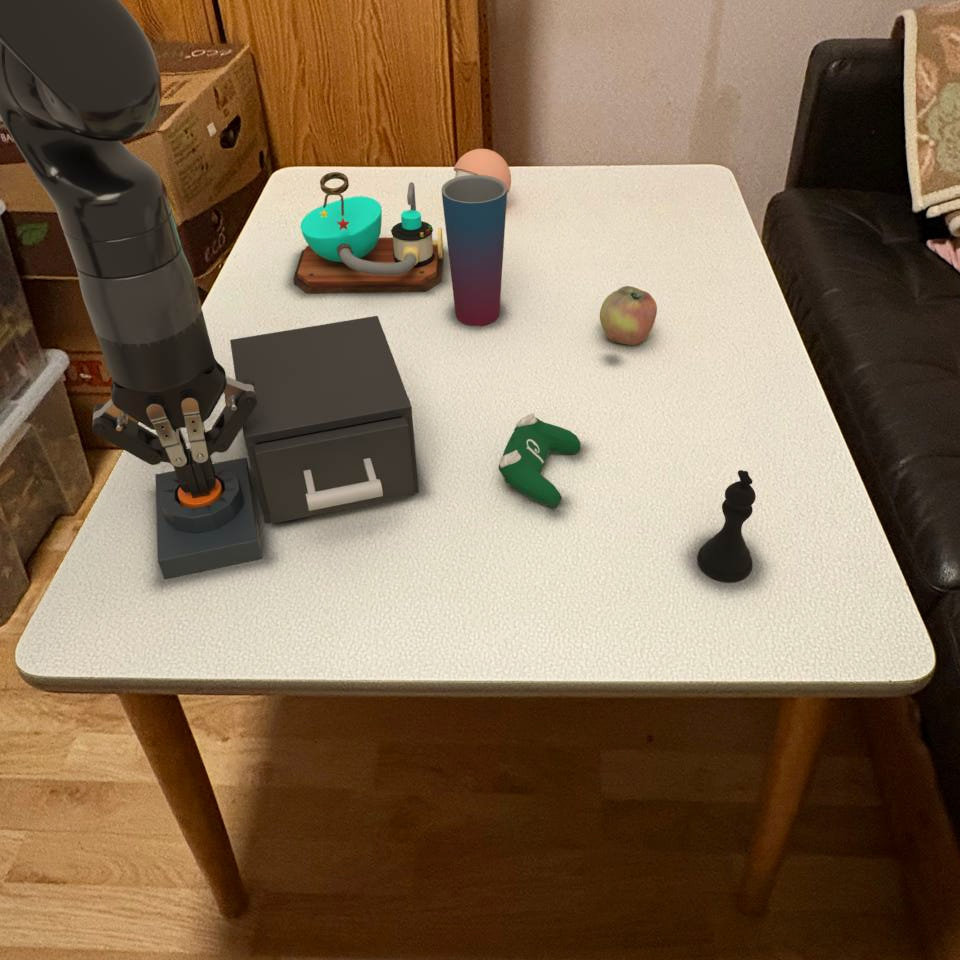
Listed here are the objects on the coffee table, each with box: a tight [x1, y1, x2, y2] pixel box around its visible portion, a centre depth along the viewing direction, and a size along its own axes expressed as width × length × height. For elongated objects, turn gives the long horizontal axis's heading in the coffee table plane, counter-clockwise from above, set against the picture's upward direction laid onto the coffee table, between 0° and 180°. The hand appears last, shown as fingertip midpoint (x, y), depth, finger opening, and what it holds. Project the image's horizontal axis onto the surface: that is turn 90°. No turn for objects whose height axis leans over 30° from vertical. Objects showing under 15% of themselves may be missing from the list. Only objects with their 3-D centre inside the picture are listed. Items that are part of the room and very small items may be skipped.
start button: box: [178, 479, 223, 508], centre depth 77 cm, size 4×4×2 cm
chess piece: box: [696, 469, 757, 583], centre depth 71 cm, size 4×4×10 cm
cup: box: [441, 175, 508, 327], centre depth 99 cm, size 7×7×15 cm
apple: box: [599, 285, 658, 346], centre depth 97 cm, size 6×8×6 cm
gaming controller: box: [498, 412, 581, 508], centre depth 82 cm, size 9×4×6 cm
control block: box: [155, 457, 263, 580], centre depth 78 cm, size 11×8×4 cm
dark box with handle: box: [254, 417, 416, 524], centre depth 80 cm, size 18×12×8 cm
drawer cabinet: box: [229, 315, 420, 524], centre depth 83 cm, size 15×14×10 cm
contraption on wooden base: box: [293, 171, 445, 294], centre depth 106 cm, size 14×18×15 cm
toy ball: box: [453, 148, 512, 195], centre depth 122 cm, size 8×8×8 cm
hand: (201, 489), depth 76 cm, fingers closed
